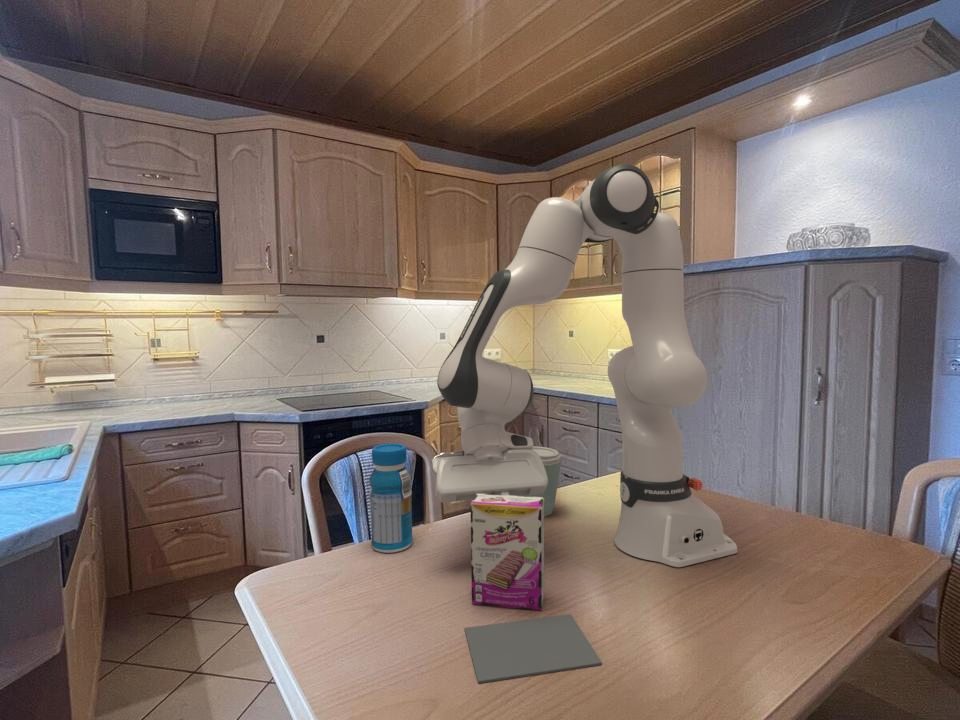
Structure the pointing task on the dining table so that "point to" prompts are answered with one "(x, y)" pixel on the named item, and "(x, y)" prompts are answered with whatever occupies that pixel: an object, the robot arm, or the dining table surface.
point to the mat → (529, 648)
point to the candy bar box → (507, 551)
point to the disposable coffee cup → (549, 476)
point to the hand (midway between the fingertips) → (497, 519)
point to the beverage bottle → (390, 499)
